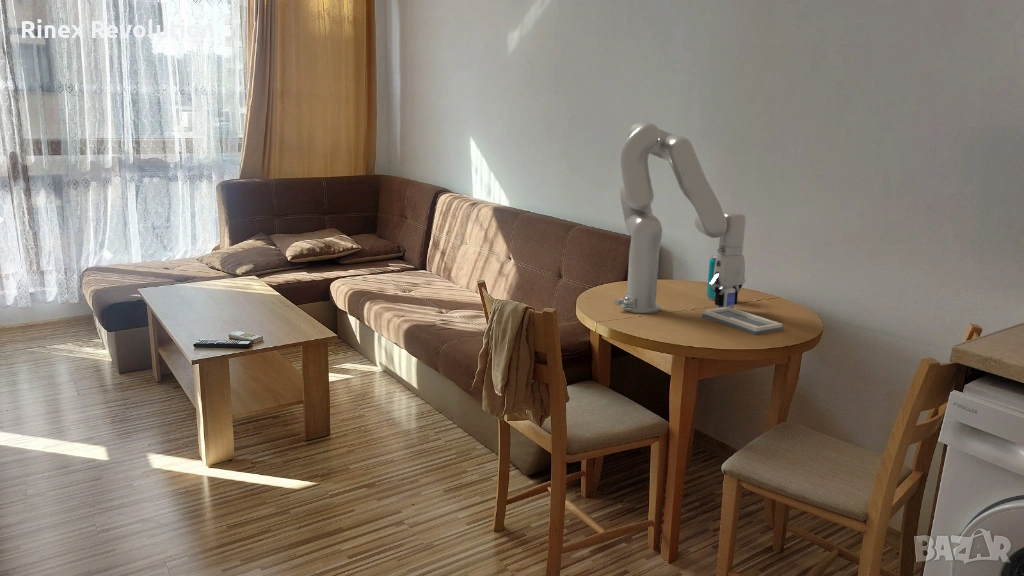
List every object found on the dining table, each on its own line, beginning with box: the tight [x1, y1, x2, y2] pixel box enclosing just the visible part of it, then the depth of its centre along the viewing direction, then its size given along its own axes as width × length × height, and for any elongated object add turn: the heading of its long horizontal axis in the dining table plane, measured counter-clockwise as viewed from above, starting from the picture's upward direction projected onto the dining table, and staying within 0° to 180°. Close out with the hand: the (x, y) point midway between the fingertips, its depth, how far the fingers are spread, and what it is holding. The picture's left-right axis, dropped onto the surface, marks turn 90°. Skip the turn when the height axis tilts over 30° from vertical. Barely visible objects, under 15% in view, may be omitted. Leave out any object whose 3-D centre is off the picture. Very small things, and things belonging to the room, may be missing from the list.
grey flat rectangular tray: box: [701, 307, 784, 336], centre depth 232 cm, size 12×22×2 cm, turn 29°
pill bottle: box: [716, 286, 735, 309], centre depth 246 cm, size 5×5×10 cm
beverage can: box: [706, 255, 720, 301], centre depth 260 cm, size 6×6×15 cm
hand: (725, 304), depth 247 cm, fingers closed on pill bottle, 5 cm apart
